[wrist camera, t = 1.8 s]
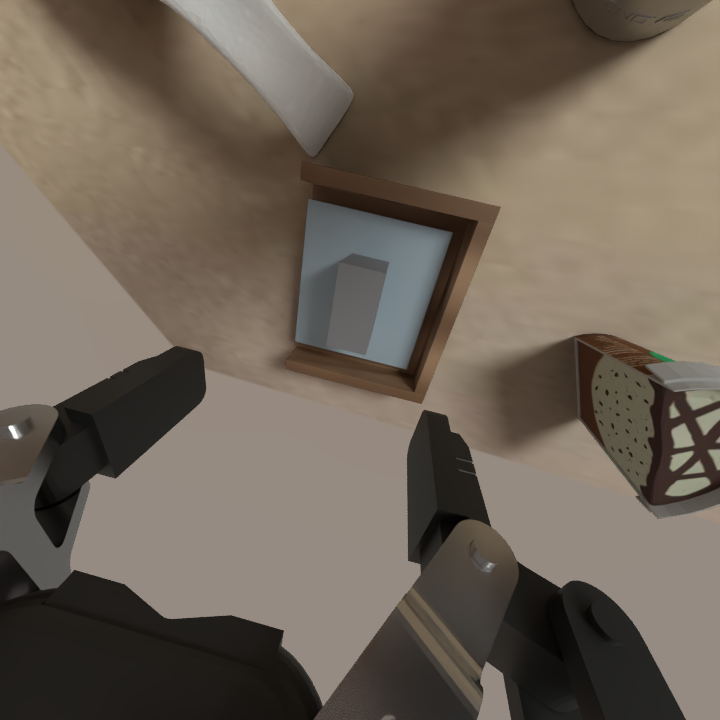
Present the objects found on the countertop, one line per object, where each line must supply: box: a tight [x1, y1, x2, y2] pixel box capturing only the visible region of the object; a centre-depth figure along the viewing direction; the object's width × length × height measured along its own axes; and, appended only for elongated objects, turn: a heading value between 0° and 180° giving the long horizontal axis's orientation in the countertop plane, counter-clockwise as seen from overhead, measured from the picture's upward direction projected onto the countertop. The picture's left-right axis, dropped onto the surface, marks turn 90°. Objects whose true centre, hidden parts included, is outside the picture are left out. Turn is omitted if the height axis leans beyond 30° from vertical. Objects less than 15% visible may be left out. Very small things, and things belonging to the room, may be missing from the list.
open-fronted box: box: [286, 161, 501, 404], centre depth 23 cm, size 16×13×4 cm
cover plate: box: [295, 199, 453, 370], centre depth 21 cm, size 12×11×6 cm
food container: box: [574, 333, 720, 519], centre depth 20 cm, size 12×6×10 cm, turn 21°
